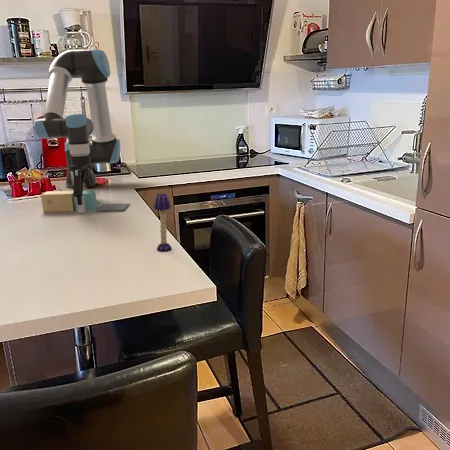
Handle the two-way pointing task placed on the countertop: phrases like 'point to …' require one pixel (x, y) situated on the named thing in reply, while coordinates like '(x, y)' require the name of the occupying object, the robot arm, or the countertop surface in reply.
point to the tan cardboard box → (58, 201)
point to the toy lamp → (162, 220)
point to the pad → (112, 207)
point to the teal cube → (88, 200)
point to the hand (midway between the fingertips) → (86, 208)
